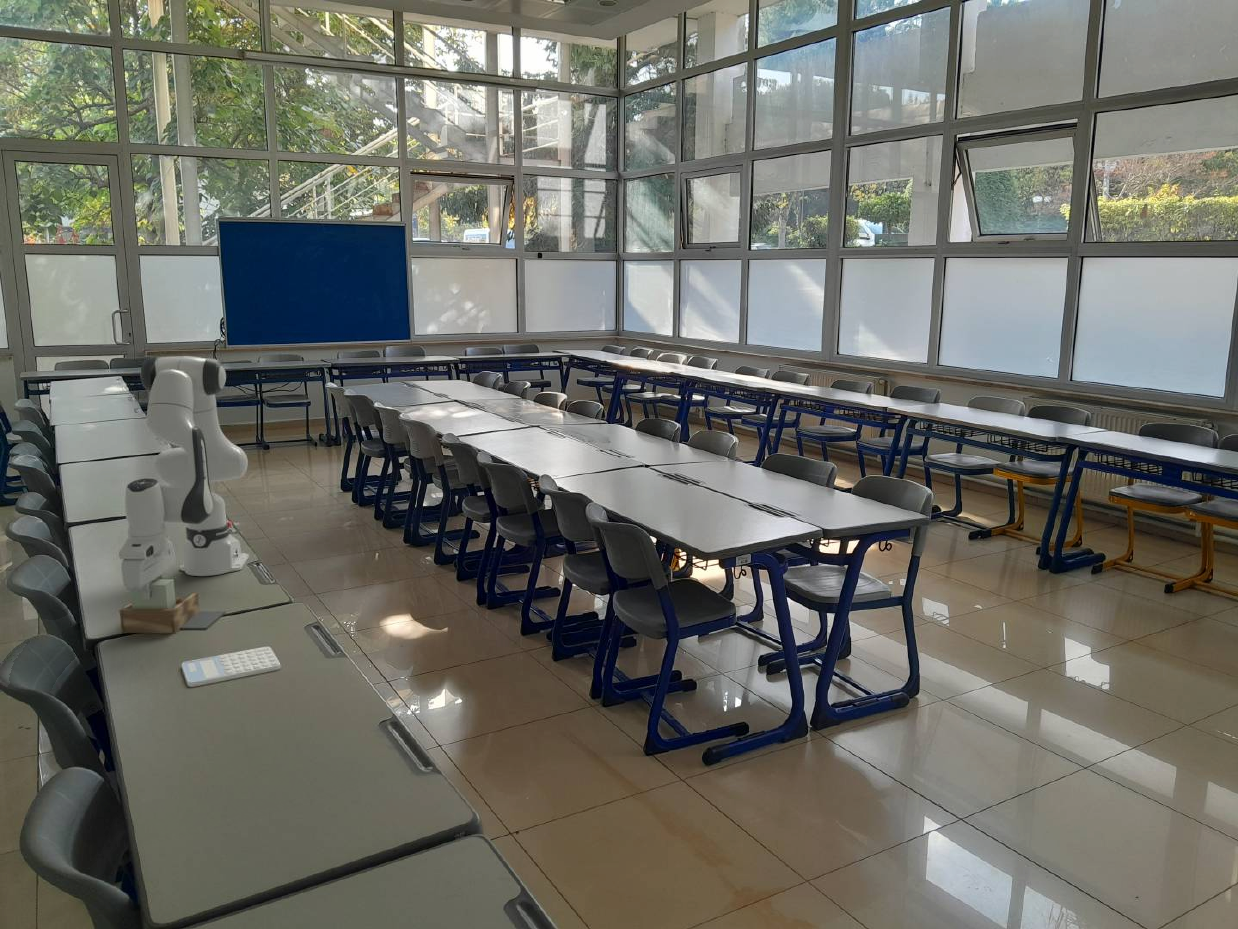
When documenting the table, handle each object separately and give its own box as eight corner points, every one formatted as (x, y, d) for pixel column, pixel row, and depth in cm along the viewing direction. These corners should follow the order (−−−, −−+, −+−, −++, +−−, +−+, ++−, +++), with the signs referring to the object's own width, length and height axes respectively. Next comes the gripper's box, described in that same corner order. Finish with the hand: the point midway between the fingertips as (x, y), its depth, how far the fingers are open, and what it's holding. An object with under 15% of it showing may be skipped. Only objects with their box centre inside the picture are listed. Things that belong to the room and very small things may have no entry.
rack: (148, 613, 247) (146, 592, 246) (199, 613, 247) (197, 592, 246) (121, 632, 234) (119, 610, 232) (175, 633, 234) (173, 610, 233)
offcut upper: (160, 605, 245) (159, 597, 245) (182, 606, 245) (181, 597, 245) (153, 610, 242) (152, 601, 242) (176, 610, 242) (175, 601, 241)
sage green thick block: (143, 622, 240) (138, 579, 237) (177, 623, 240) (173, 579, 238) (134, 629, 235) (129, 584, 233) (169, 629, 236) (165, 585, 233)
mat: (199, 612, 248) (199, 611, 248) (225, 613, 248) (225, 611, 248) (179, 629, 236) (179, 627, 236) (206, 629, 236) (206, 627, 236)
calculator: (282, 671, 213) (281, 663, 213) (188, 690, 203) (187, 682, 202) (270, 651, 224) (269, 644, 224) (181, 668, 214) (180, 661, 214)
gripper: (155, 531, 243) (160, 581, 246) (114, 554, 223) (120, 608, 226) (179, 532, 243) (183, 581, 246) (140, 555, 223) (146, 608, 226)
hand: (153, 594), depth 236 cm, fingers closed on sage green thick block, 4 cm apart
